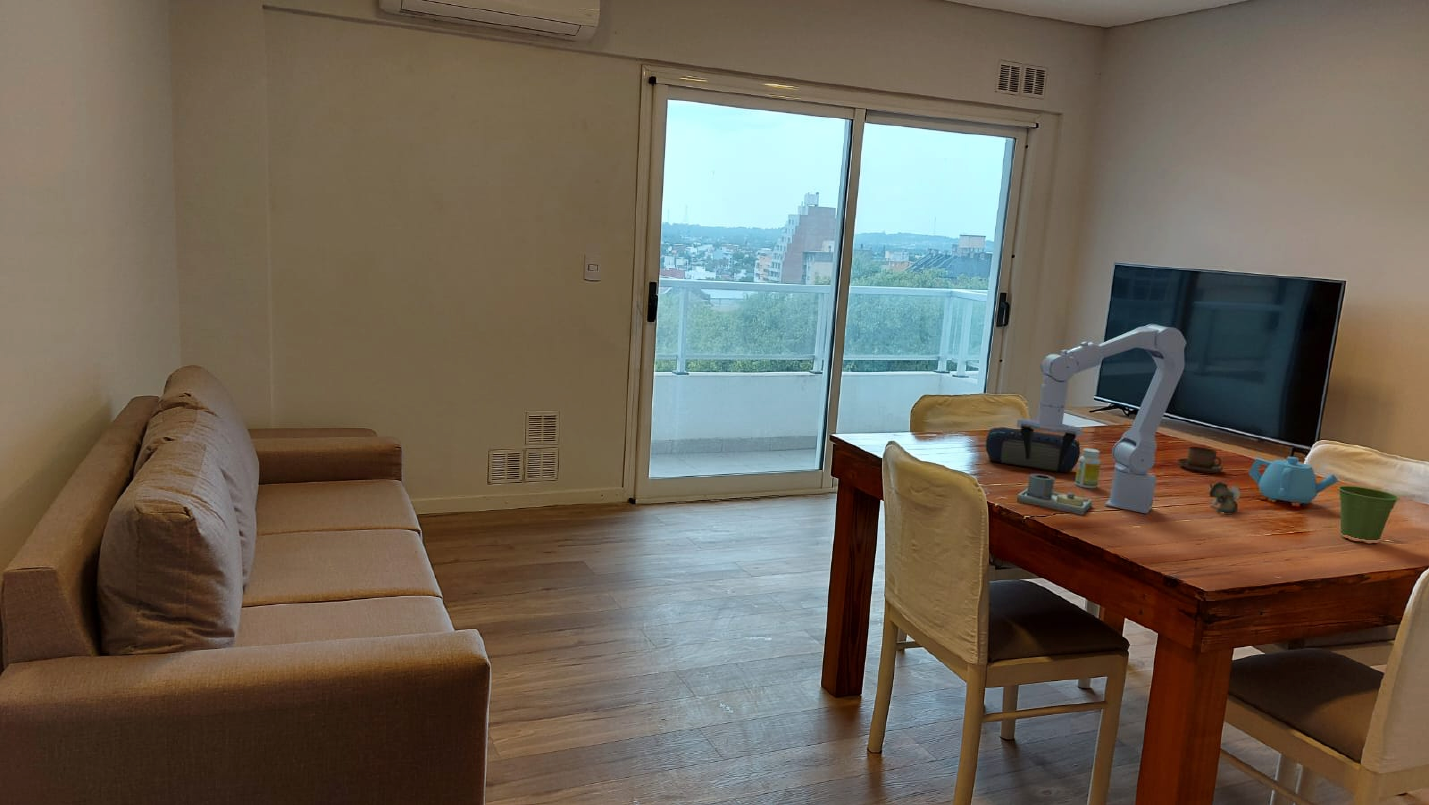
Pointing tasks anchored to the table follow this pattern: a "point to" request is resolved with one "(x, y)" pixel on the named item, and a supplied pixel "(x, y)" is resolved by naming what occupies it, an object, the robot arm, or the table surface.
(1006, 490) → the table surface
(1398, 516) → the table surface
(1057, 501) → the carrier board
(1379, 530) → the plant pot
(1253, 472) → the teapot
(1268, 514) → the table surface
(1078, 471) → the supplement bottle
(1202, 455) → the cup and saucer
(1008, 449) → the portable speaker
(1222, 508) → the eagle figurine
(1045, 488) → the grey hexagonal nut
